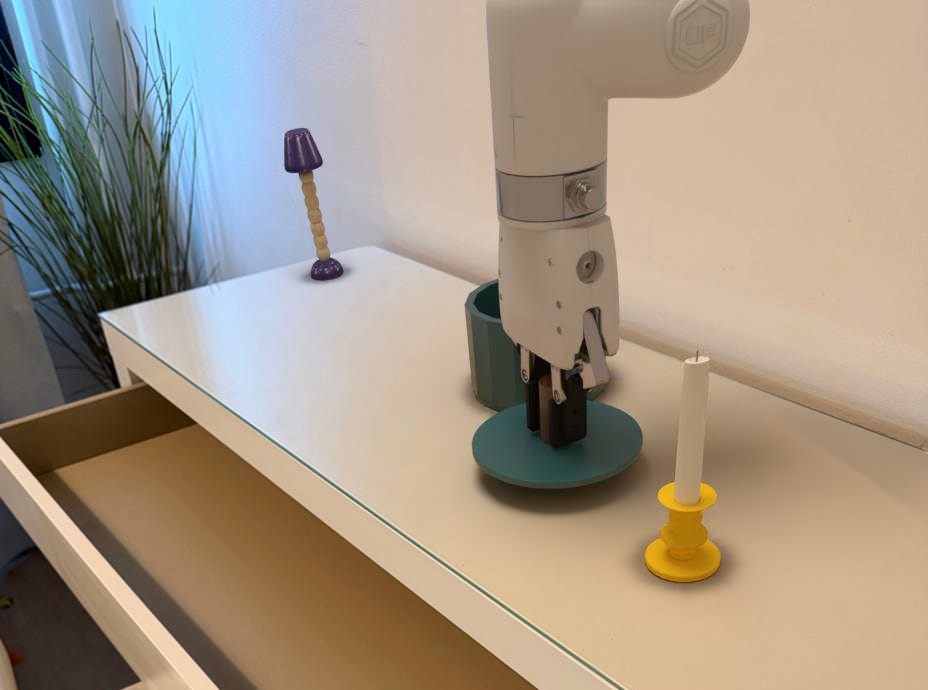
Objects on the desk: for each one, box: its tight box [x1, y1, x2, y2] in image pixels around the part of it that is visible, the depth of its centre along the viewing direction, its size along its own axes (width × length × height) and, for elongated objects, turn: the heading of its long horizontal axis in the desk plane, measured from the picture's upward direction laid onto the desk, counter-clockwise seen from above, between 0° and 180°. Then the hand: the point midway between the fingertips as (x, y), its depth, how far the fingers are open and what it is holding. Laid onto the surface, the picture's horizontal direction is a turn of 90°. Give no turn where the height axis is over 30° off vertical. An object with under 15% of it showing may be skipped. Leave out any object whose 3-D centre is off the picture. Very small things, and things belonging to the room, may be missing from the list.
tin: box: [464, 277, 607, 412], centre depth 86 cm, size 13×13×8 cm
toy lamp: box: [283, 127, 344, 281], centre depth 114 cm, size 5×5×17 cm
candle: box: [644, 349, 722, 583], centre depth 61 cm, size 5×5×16 cm
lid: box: [471, 373, 644, 490], centre depth 74 cm, size 14×14×6 cm
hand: (556, 432), depth 75 cm, fingers closed on lid, 2 cm apart
